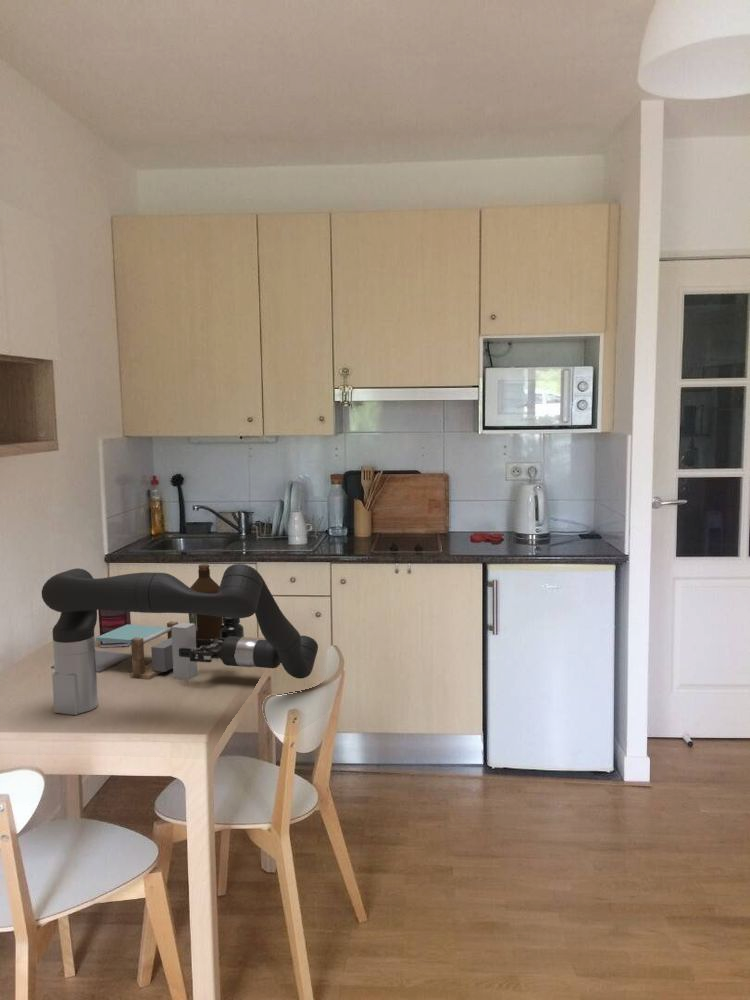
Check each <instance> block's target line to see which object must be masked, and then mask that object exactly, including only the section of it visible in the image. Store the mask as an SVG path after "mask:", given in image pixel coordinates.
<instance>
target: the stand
mask: <svg viewBox="0 0 750 1000" xmlns="http://www.w3.org/2000/svg"><path fill="white" fill-rule="evenodd" d="M177 624H179V622H178V621H168V622H167V623H166V627H172V626H174V625H177ZM166 634H167V635H166V636H167V639H169V638H171V637H172V630H171V631H170V632H167V633H166ZM144 644H145V643H143V638H136V637H135V638H133V639H131V644H130V645H131V648H130V649H131V654H132V657H131V664H132V665H131V666H132V672H131V673H130V674H129V675H130V677H132V679H140V678H144V680H151V679H153V678H155V677H157V676H159V675H160V674H162V673H163V672H162V671H152V662H150V663H149V664H147V665H145V650H144V648H145V647H144V646H145V645H144ZM158 674H159V675H158ZM130 677H129V678H130Z"/></svg>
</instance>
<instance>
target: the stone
mask: <svg viewBox="0 0 750 1000" xmlns="http://www.w3.org/2000/svg"><path fill="white" fill-rule="evenodd" d="M171 630H172V652H173V668H172V671H173V679H175V680H185V679H186V681H189V680H191V679H192V678H194V677H195V675H196V676H197V675H198V662H194V661H190V657H180V656H179V649H180V648H191V649H195V648H196V629H195V624H193V623H189V622H178V624H177V625H174V626H172V627H171ZM196 656H198V655H197V654H196ZM190 678H191V679H190ZM187 679H188V680H187Z"/></svg>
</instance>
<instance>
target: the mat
mask: <svg viewBox="0 0 750 1000" xmlns="http://www.w3.org/2000/svg"><path fill="white" fill-rule="evenodd" d="M95 655H96V673H101V672H103V671H106V670H107V668H108V669H109V667H110V668H112V667H114V666H116V665H118V664H120V663H122V662H124V661H126V660H128V659H130V658H132V657H131V656H132V653H124V652H123V653H122V652H114V651H101V650H95ZM129 657H130V658H129ZM127 658H128V659H127ZM125 659H126V660H125ZM123 660H124V661H123ZM121 661H122V662H121ZM119 662H120V663H119ZM117 663H118V664H117ZM115 664H116V665H115ZM113 665H114V666H113ZM111 666H112V667H111ZM50 669H55V666H54V665H52V666H51V667H50ZM105 669H106V670H105Z"/></svg>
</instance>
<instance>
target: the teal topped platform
mask: <svg viewBox="0 0 750 1000" xmlns="http://www.w3.org/2000/svg"><path fill="white" fill-rule="evenodd" d="M170 631H171V627H167V626H155V625H142V624H141V625H140V624H131V625H128V624H127V625H124V626H122V627H120V628H117V629H115V630H113V631H110V632H108V633H105V634H103V635H101V636H100V635H99V636H96V638H95V641H96V642H100V641H105V642H117V643H130V645H131V639H133V638H135V637H136V638H143V643H144V644H146V643H149V642H150V641H152V640H155V639H157V638H159V637H161V636H163V635H165V634H167V632H170ZM150 649H151V650H150V651H151V652H150V653H151V663H152V671H162V673H164V672H165V673H166V672H168V671H169V670H172V669H173V652H172V637H171V638H169V639H168V638H166V639H165V640H163V641H160V642H159V643H157V644H155V645H153V646H151V648H150Z"/></svg>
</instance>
